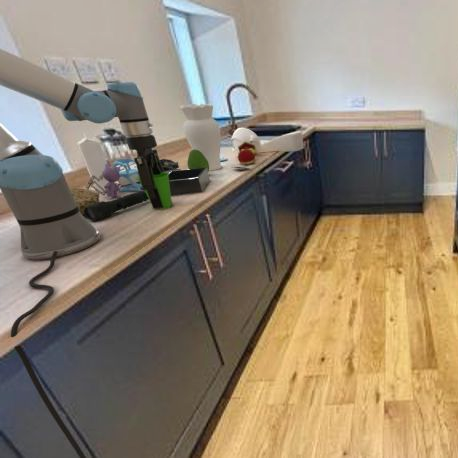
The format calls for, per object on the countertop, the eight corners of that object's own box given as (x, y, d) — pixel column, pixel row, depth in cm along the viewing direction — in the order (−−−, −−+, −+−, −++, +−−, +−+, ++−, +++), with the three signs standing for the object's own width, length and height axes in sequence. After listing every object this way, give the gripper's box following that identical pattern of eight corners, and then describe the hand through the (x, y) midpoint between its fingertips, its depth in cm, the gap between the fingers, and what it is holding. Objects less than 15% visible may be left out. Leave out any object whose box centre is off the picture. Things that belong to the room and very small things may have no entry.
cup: (164, 212, 115) (153, 179, 110) (141, 211, 117) (129, 179, 112) (184, 203, 123) (175, 172, 118) (162, 202, 125) (152, 171, 120)
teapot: (251, 154, 204) (237, 166, 196) (231, 131, 196) (216, 143, 189) (274, 143, 188) (259, 156, 180) (254, 118, 180) (237, 130, 173)
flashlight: (86, 221, 110) (80, 206, 108) (148, 199, 128) (143, 186, 126) (97, 222, 109) (91, 207, 107) (158, 200, 127) (153, 187, 124)
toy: (232, 157, 186) (217, 161, 177) (232, 159, 186) (218, 163, 178) (212, 156, 190) (197, 160, 182) (212, 157, 191) (197, 162, 182)
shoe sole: (239, 153, 200) (235, 134, 196) (249, 148, 212) (246, 131, 207) (301, 151, 197) (298, 133, 193) (308, 147, 209) (305, 129, 205)
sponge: (68, 209, 124) (40, 216, 106) (66, 187, 123) (37, 190, 105) (114, 209, 130) (95, 216, 112) (113, 188, 128) (93, 191, 111)
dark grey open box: (202, 192, 134) (198, 177, 132) (162, 196, 130) (157, 182, 128) (210, 180, 149) (206, 167, 147) (174, 184, 146) (170, 170, 143)
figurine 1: (98, 195, 127) (96, 163, 128) (113, 198, 134) (111, 168, 135) (113, 193, 127) (111, 161, 128) (128, 196, 134) (125, 166, 135)
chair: (134, 192, 136) (123, 161, 131) (118, 191, 138) (106, 161, 133) (151, 186, 143) (142, 157, 138) (135, 185, 145) (125, 156, 140)
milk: (99, 193, 137) (75, 136, 128) (95, 190, 141) (72, 134, 132) (117, 189, 141) (95, 133, 132) (114, 186, 145) (92, 132, 136)
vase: (227, 170, 164) (211, 104, 152) (192, 174, 160) (173, 106, 148) (230, 163, 177) (216, 102, 165) (198, 166, 173) (181, 104, 161)
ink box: (114, 177, 142) (115, 163, 149) (121, 187, 145) (122, 173, 153) (137, 170, 144) (137, 157, 152) (144, 180, 148) (144, 166, 155)
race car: (157, 165, 151) (155, 155, 151) (143, 167, 152) (141, 156, 152) (182, 169, 166) (181, 160, 166) (169, 171, 167) (168, 161, 167)
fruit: (198, 174, 159) (191, 147, 154) (215, 174, 158) (208, 147, 153) (187, 179, 152) (179, 151, 147) (204, 179, 151) (196, 151, 146)
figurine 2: (241, 160, 184) (239, 170, 171) (236, 141, 178) (233, 150, 166) (258, 157, 186) (257, 167, 173) (253, 139, 180) (252, 148, 168)
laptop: (230, 169, 163) (230, 165, 162) (240, 169, 168) (240, 165, 167) (240, 171, 159) (239, 167, 159) (250, 171, 164) (250, 166, 164)
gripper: (141, 139, 102) (166, 212, 111) (162, 129, 120) (182, 193, 129) (111, 142, 100) (138, 216, 109) (137, 131, 118) (159, 195, 127)
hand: (162, 203), depth 119 cm, fingers closed on cup, 8 cm apart
